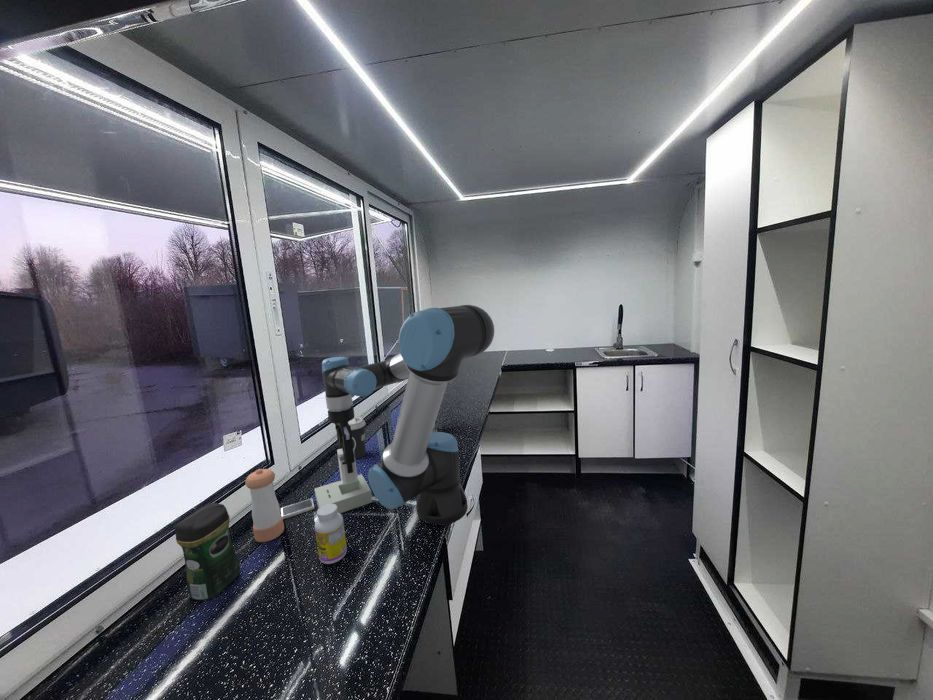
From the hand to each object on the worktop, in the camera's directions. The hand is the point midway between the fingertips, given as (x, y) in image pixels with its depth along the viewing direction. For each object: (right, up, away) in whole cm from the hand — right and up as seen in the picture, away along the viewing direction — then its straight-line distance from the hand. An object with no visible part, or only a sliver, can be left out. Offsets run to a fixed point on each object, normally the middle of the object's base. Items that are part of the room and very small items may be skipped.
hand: (349, 477), depth 111 cm
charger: (0, -1, 0) cm, 1 cm away
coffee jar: (-21, -14, -30) cm, 39 cm away
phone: (-15, -9, -3) cm, 17 cm away
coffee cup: (-7, -3, +31) cm, 32 cm away
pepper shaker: (-18, -11, -13) cm, 25 cm away
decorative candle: (+20, +2, +50) cm, 53 cm away
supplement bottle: (+4, -11, -23) cm, 26 cm away
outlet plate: (-2, -7, 0) cm, 8 cm away
